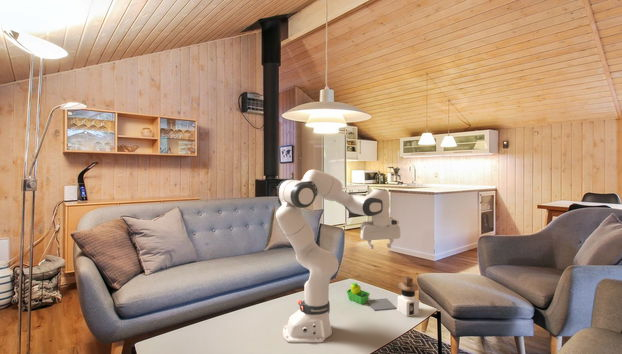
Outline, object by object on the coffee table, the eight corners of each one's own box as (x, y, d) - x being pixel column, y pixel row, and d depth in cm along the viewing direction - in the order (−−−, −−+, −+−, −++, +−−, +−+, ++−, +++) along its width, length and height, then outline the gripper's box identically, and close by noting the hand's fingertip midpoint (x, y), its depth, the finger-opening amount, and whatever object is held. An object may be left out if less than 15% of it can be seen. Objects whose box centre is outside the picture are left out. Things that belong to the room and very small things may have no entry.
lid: (403, 292, 162) (403, 282, 162) (394, 284, 172) (394, 275, 172) (422, 290, 164) (422, 280, 164) (412, 283, 174) (412, 273, 173)
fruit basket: (370, 302, 181) (370, 282, 180) (360, 307, 175) (360, 286, 174) (354, 295, 189) (354, 276, 189) (344, 300, 183) (344, 280, 183)
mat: (374, 310, 170) (374, 309, 170) (366, 301, 182) (366, 300, 182) (396, 308, 173) (396, 307, 173) (386, 299, 184) (386, 298, 184)
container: (419, 314, 166) (419, 289, 166) (406, 317, 163) (406, 291, 163) (409, 308, 173) (409, 283, 173) (397, 310, 171) (397, 286, 170)
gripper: (362, 222, 159) (362, 250, 160) (402, 221, 163) (401, 248, 164) (358, 220, 165) (358, 247, 166) (396, 218, 169) (396, 245, 170)
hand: (380, 248), depth 165 cm, fingers open, 8 cm apart
